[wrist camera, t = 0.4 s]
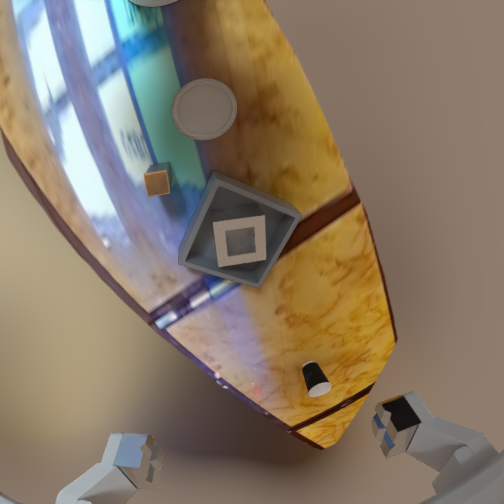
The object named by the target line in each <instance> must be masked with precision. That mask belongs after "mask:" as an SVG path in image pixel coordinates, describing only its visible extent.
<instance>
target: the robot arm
mask: <svg viewBox="0 0 504 504" xmlns="http://www.w3.org/2000/svg"><path fill="white" fill-rule="evenodd" d="M130 1H131V2H133V3H135V4H137V5H140V6H146V7H157V6H163V5H167V4H170V3H173V2H176V1H178V0H130ZM375 411H376V414H375V415H374V417H373V419H372V430H373V433H374V436H375V438H376V439H378V440H380V441H382V442H381V445H380V448H381V449H382V452H383V453H384V455H385V457H386V459H387V458H390V457H393V456H396V455H398V454H401V453H403V452H406V453H407V454H409V455H411V456H412V457H414V458H416V459H417V460H419V461H421V462H422V463H424V464H426V465H428V466H429V467H431V468H433V469H435V470H436V471H438V472H440V473H439V474H438V475H437V477H436V478H435V479H434V480H433V482H432V486H433V488H434V490H435V492H436V495H434V496H432V497H430V498H428V499H426V500H424V501H423V502H421V503H418V504H504V450H502V451H501V452H500V453H498V452H497V451H496V449H495V448H494V447H493V445H492V444H491V443H490V441H489V440H488V439H487V438H486V436H485V435H484V434H483V433H482V432H478V431H476V430H473V429H470V428H467V427H464V426H461V425H459V424H456V423H453V422H451V421H448V420H445V419H443V418H440V417H438V416H436V417H433V416H432V414H431V413H430V412H429V410H428V409H427V407H426V406H425V405H424V403H423V402H422V401H421V399H420V398H419V397H418V395H417V394H416V393H415V392H413V391H411V392H408V393H405V394H403V395H399V396H397V397H394V398H391V399H388V400H385V401H382V402H379V403H377V405H376V407H375ZM162 463H163V461H162V454H161V450H160V448H159V447H158V446H157V445H155V444H154V438H153V437H152V436H151V435H147V434H133V433H123V432H112V434H111V435H110V437H109V440H108V444H107V446H106V449H105V452H104V455H103V458H102V461H101V463H97V464H95V465H94V466H93V467H92V468H90V469H89V470H88V471H86V472H85V473H84V474H83V475H81V476H80V477H79V478H77V479H76V480H75V481H73V482H72V483H71V484H69V485H68V486H67V487H65V488H64V489H62V490H61V491H60V492H59V494H58V497H57V500H56V503H55V504H126V503H127V502H128V501H129V500H130V498H131V497H132V496H133V495H134V494H135V493H136V492H137V491H138V489H143V490H157V491H158V489H159V483H160V476H159V474H158V473H157V472H158V471H159V470H160V469H161V468H162ZM0 504H22V503H20V502H18V501H16V500H14V499H12V498H10V497H8V496H7V495H5V494H3V493H2V492H0Z"/></svg>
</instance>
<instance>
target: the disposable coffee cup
mask: <svg viewBox="0 0 504 504" xmlns="http://www.w3.org/2000/svg"><path fill="white" fill-rule="evenodd" d="M236 115H237V101H236V98H235V95H234V94H233V92H232V91H231V89H230V88H229V87H228V86H227V85H225V84H224V83H222V82H220V81H218V80H215V79H210V78H202V79H196V80H194V81H191V82H189V83H188V84H186V85H184V86H183V87H182V88H181V89H180V90H179V91H178V93H177V94H176V96H175V98H174V100H173V104H172V118H173V121H174V123H175V125H176V127H177V128H178V129H179V130H180V131H181V132H182V133H183V134H184V135H186V136H187V137H189V138H192V139H195V140H211V139H214V138H217V137H219V136H221V135H223V134H224V133H225V132H227V131H228V129H229V128H230V127H231V126H232V124H233V123H234V121H235V118H236Z"/></svg>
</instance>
